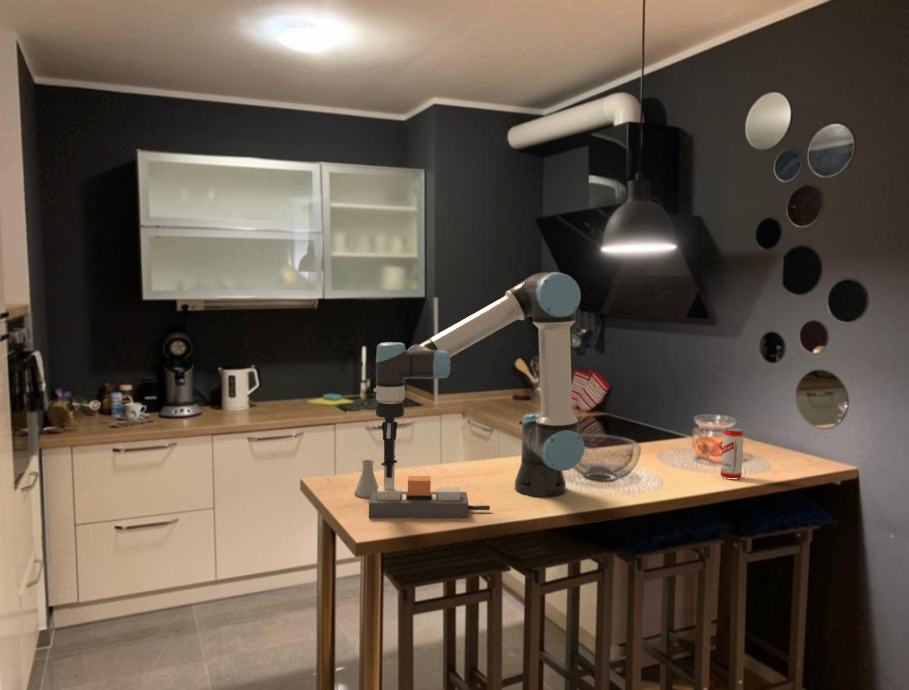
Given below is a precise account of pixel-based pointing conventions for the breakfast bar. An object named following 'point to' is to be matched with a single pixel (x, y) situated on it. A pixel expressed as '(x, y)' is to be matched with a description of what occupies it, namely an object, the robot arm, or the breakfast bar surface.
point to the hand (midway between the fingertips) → (389, 488)
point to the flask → (366, 480)
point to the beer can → (732, 453)
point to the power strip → (421, 507)
